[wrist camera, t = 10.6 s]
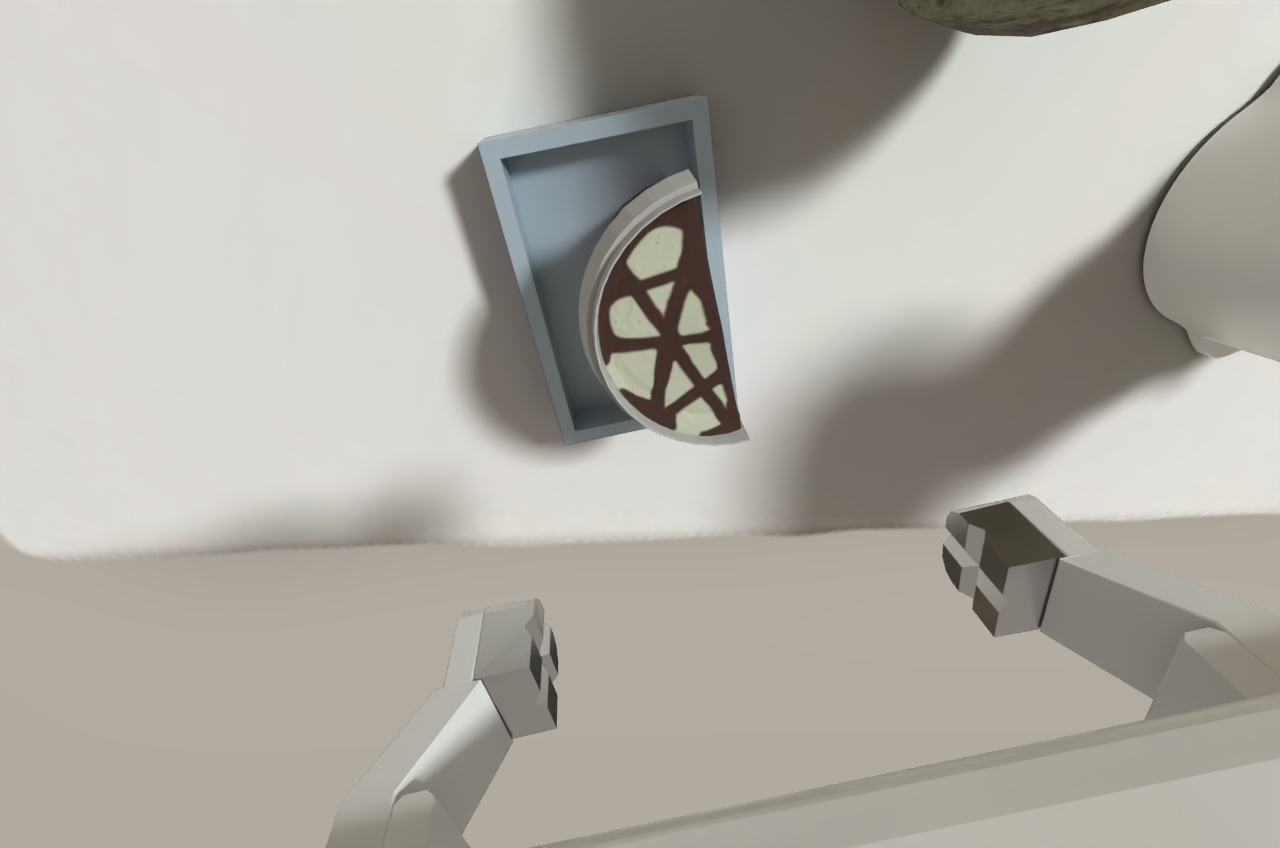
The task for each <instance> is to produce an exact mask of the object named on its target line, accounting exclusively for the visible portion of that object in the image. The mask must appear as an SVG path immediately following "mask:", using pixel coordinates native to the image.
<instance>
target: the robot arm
mask: <svg viewBox="0 0 1280 848" xmlns="http://www.w3.org/2000/svg"><path fill="white" fill-rule="evenodd" d="M1143 275H1144V283H1145V288H1146V291H1147V294H1148V297H1149V299H1150V301H1151V302H1152V304H1153V305H1154V307H1155V308H1156V309H1157V310H1158V311H1159V312H1160V313H1161V314H1162V315H1163V316H1165V317H1166V318H1168V319H1170V320H1172V321H1174V322H1175V323H1177V324H1179V325H1181V326H1182V327H1183V328H1185V329H1186V330H1187V333H1188V336H1189V339H1190V341H1191V343H1192V345H1193V347H1194V349H1195V350H1196V351H1197V352H1198V353H1200V354H1204V355H1207V356H1210V357H1214V358H1220V357H1224V356H1227V355H1230V354H1232V353H1235V352H1238V351H1241V350H1243V351H1246V352H1250V353H1253V354H1256V355H1259V356H1262V357H1265V358H1269V359H1272V360H1275V361H1278V362H1280V75H1279V76H1278V78H1277V79H1276V80H1275V81H1274V83H1273V84H1272V85H1271V87H1270V88H1269V89H1267V90H1266V91H1265V92H1264V93H1263V94H1262V95H1261V96H1260V97H1259V98H1257V99H1256V100H1255V101H1254V102H1253V103H1251V104H1250V105H1249V106H1248V107H1246V108H1245V109H1244V110H1242V111H1241V112H1240V113H1239V114H1237V115H1236V116H1235V117H1233V118H1232V119H1231V120H1230V121H1229V122H1227V123H1226V124H1225V125H1224V126H1223V127H1222V128H1221V129H1219V130H1218V131H1217V132H1216V133H1215V134H1214V135H1213V136H1212V137H1211V138H1210V139H1209V140H1208V141H1207V142H1206V143H1205V144H1204V145H1203V146H1202V147H1201V149H1200V150H1199V151H1198V152H1197V153H1196V154H1195V155H1194V156H1193V158H1192V159H1191V160H1190V161H1189V163H1188V164H1187V165H1186V166H1185V168H1184V169H1183V170H1182V172H1181V173H1180V175H1179V176H1178V177H1177V179H1176V180H1175V182H1174V183H1173V185H1172V187H1171V188H1170V190H1169V191H1168V193H1167V195H1166V197H1165V198H1164V200H1163V202H1162V204H1161V206H1160V208H1159V210H1158V212H1157V215H1156V217H1155V219H1154V222H1153V224H1152V227H1151V230H1150V233H1149V236H1148V240H1147V244H1146V248H1145V254H1144V262H1143ZM946 528H947V529H948V531H949V532H950V533H951V536H950V537H949V538H948V539H947V540H946V541H945V543H944V544H943V555H942V557H943V561H944V565H945V569H946V572H947V574H948V576H949V578H950V579H951V581H952V583H953V584H954V585H955V587H956V588H957V589H958V591H960V592H962V593H964V594H966V595H968V596H970V597H972V598H973V608H972V609H973V611H974V612H975V613H976V614H977V616H978V617H979V618H980V619H981V621H982V622H983V623H984V625H985V626H986V627H987V629H988V630H989V631H990V633H991V634H992V635H993V636H994V637H998V636H1003V635H1009V634H1015V633H1021V632H1026V631H1031V630H1037V629H1040V632H1042V633H1044V634H1045V635H1047V636H1049V637H1050V638H1052V639H1053V640H1055V641H1057V642H1058V643H1060V644H1062V645H1064V646H1065V647H1067V648H1068V649H1070V650H1072V651H1074V652H1075V653H1077V654H1079V655H1080V656H1082V657H1083V658H1085V659H1087V660H1088V661H1090V662H1092V663H1094V664H1095V665H1097V666H1098V667H1100V668H1102V669H1103V670H1105V671H1107V672H1108V673H1110V674H1112V675H1113V676H1115V677H1117V678H1119V679H1120V680H1122V681H1124V682H1125V683H1127V684H1129V685H1130V686H1132V687H1133V688H1135V689H1137V690H1138V691H1140V692H1142V693H1143V694H1145V695H1147V696H1148V697H1150V698H1152V699H1153V702H1152V704H1151V707H1150V709H1149V711H1148V713H1147V715H1146V717H1145V719H1144V720H1143V721H1138V722H1133V723H1128V724H1124V725H1118V726H1113V727H1109V728H1104V729H1099V730H1094V731H1089V732H1085V733H1080V734H1075V735H1070V736H1065V737H1060V738H1056V739H1051V740H1046V741H1041V742H1036V743H1032V744H1027V745H1022V746H1018V747H1012V748H1008V749H1003V750H998V751H993V752H988V753H983V754H979V755H974V756H969V757H964V758H959V759H954V760H950V761H945V762H940V763H936V764H931V765H926V766H921V767H916V768H911V769H906V770H902V771H897V772H892V773H887V774H882V775H877V776H872V777H868V778H863V779H858V780H853V781H849V782H844V783H839V784H834V785H829V786H825V787H820V788H815V789H810V790H805V791H801V792H796V793H791V794H786V795H781V796H777V797H772V798H767V799H762V800H757V801H753V802H748V803H743V804H738V805H734V806H729V807H724V808H720V809H714V810H710V811H705V812H700V813H695V814H690V815H685V816H680V817H676V818H671V819H666V820H661V821H657V822H651V823H647V824H642V825H638V826H632V827H628V828H623V829H618V830H613V831H608V832H603V833H599V834H594V835H589V836H584V837H579V838H575V839H569V840H565V841H560V842H555V843H550V844H545V845H540V846H536V847H531V848H1280V616H1279V615H1277V614H1276V613H1275V612H1272V611H1270V610H1267V609H1264V608H1262V607H1259V606H1256V605H1254V604H1251V603H1248V602H1245V601H1243V600H1240V599H1237V598H1234V597H1232V596H1229V595H1227V594H1224V593H1221V592H1219V591H1216V590H1213V589H1210V588H1208V587H1205V586H1202V585H1200V584H1197V583H1194V582H1192V581H1189V580H1186V579H1183V578H1181V577H1178V576H1175V575H1173V574H1170V573H1167V572H1164V571H1162V570H1159V569H1156V568H1154V567H1151V566H1148V565H1146V564H1143V563H1140V562H1138V561H1135V560H1132V559H1129V558H1127V557H1124V556H1121V555H1118V554H1116V553H1113V552H1111V551H1108V550H1105V549H1104V550H1098V551H1096V550H1095V549H1094V548H1093V547H1092V546H1091V545H1089V544H1088V543H1087V542H1086V541H1085V540H1084V539H1083V538H1081V537H1080V536H1079V535H1078V534H1077V533H1076V532H1075V531H1073V530H1072V529H1071V528H1070V527H1069V526H1068V525H1067V524H1066V523H1065V522H1063V521H1062V520H1061V519H1060V518H1059V517H1058V516H1057V515H1055V514H1054V513H1053V512H1052V511H1051V510H1050V509H1049V508H1048V507H1046V506H1045V505H1044V504H1043V503H1042V502H1041V501H1040V500H1038V499H1037V498H1036V497H1034V496H1031V495H1029V494H1028V495H1023V496H1019V497H1014V498H1010V499H1005V500H1002V501H996V502H991V503H986V504H982V505H977V506H973V507H968V508H964V509H959V510H955V511H951V512H950V513H949V515H948V516H947V520H946ZM557 675H558V657H557V648H556V643H555V639H554V635H553V632H552V629H551V627H550V626H549V625H547V624H546V623H544V609H543V607H542V604H541V602H540V600H539V599H532V600H526V601H521V602H515V603H510V604H505V605H499V606H494V607H488V608H485V609H480V610H475V611H469V612H464V613H462V614H461V616H460V617H459V619H458V621H457V626H456V630H455V635H454V640H453V644H452V649H451V654H450V658H449V663H448V668H447V673H446V677H445V682H444V687H442V688H438V689H435V691H434V692H433V693H432V694H431V695H430V697H429V698H428V699H427V700H426V702H425V703H424V704H423V705H422V706H421V707H420V709H419V710H418V711H417V712H416V714H415V715H414V716H413V717H412V718H411V720H410V721H409V722H408V723H407V724H406V726H405V727H404V728H403V729H402V731H401V732H400V733H399V734H398V735H397V736H396V738H395V739H394V740H393V741H392V743H391V744H390V745H389V746H388V748H387V749H386V750H385V751H384V752H383V754H382V755H381V756H380V757H379V758H378V760H377V761H376V762H375V763H374V764H373V766H372V767H371V768H370V769H369V770H368V772H367V773H366V774H365V775H364V776H363V778H362V779H361V780H360V781H359V782H358V784H357V785H356V786H355V787H354V789H353V790H352V791H351V792H350V793H349V795H348V796H347V797H346V798H345V799H344V801H343V802H342V803H341V804H340V806H339V808H338V811H337V814H336V818H335V821H334V824H333V827H332V830H331V833H330V836H329V839H328V842H327V845H326V848H470V846H469V845H468V843H467V842H466V841H465V839H464V838H463V836H462V833H463V832H464V830H465V828H466V826H467V824H468V823H469V821H470V819H471V817H472V815H473V813H474V812H475V809H476V808H477V806H478V804H479V802H480V801H481V799H482V797H483V795H484V793H485V792H486V790H487V788H488V786H489V784H490V782H491V781H492V779H493V777H494V775H495V773H496V772H497V770H498V768H499V766H500V764H501V763H502V761H503V759H504V757H505V755H506V753H507V752H508V750H509V748H510V746H511V744H512V743H513V740H512V739H514V738H518V737H522V736H526V735H531V734H535V733H539V732H543V731H547V730H552V729H556V728H557V693H556V691H555V688H554V686H553V684H552V682H553V681H554V679H555V678H556V677H557Z"/></svg>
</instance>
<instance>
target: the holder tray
mask: <svg viewBox="0 0 1280 848" xmlns="http://www.w3.org/2000/svg"><path fill="white" fill-rule="evenodd" d="M477 144H478V147H479V151H480V154H481V158H482V161H483V165H484V168H485V171H486V175H487V178H488V182H489V185H490V189H491V192H492V196H493V199H494V203H495V206H496V209H497V213H498V216H499V220H500V223H501V227H502V230H503V234H504V237H505V241H506V244H507V247H508V251H509V254H510V258H511V261H512V265H513V268H514V272H515V275H516V279H517V282H518V285H519V289H520V292H521V296H522V299H523V303H524V306H525V310H526V313H527V317H528V320H529V323H530V327H531V330H532V334H533V337H534V341H535V344H536V348H537V351H538V355H539V358H540V361H541V365H542V368H543V372H544V375H545V379H546V382H547V386H548V389H549V393H550V396H551V399H552V403H553V406H554V410H555V413H556V417H557V420H558V424H559V427H560V431H561V434H562V437H563V441H564V444H565V445H570V444H574V443H579V442H584V441H589V440H594V439H598V438H603V437H608V436H613V435H618V434H622V433H627V432H632V431H637V430H642V429H646V428H647V427H645V426H643V425H641V424H639V423H638V422H637V421H635V420H634V419H633V418H631V417H630V416H629V415H627V414H626V413H625V412H624V411H623V410H622V409H621V408H620V407H619V406H618V405H617V404H616V403H615V402H614V401H613V399H612V398H611V397H610V396H609V394H608V393H607V391H606V390H605V388H604V387H603V385H602V384H601V382H600V381H599V379H598V378H597V376H596V375H595V373H594V372H593V370H592V368H591V365H590V363H589V361H588V359H587V356H586V354H585V351H584V347H583V343H582V339H581V335H580V326H579V314H578V311H579V299H580V290H581V286H582V282H583V278H584V274H585V270H586V267H587V265H588V262H589V260H590V258H591V255H592V253H593V251H594V248H595V246H596V245H597V243H598V241H599V240H600V238H601V237H602V235H603V234H604V232H605V230H606V229H607V227H608V226H609V225H610V223H611V222H612V220H613V219H614V217H615V216H616V214H617V213H618V211H619V210H620V208H621V207H622V206H623V205H624V204H625V203H627V202H628V201H629V200H631V199H632V198H633V197H634V196H636V195H637V194H638V193H639V192H641V191H642V190H643V189H645V188H646V187H649V186H651V185H654V184H656V183H659V182H660V181H662V180H664V179H665V178H667V177H670V176H672V175H675V174H677V173H680V172H682V171H685V170H687V169H689V170H690V172H691V173H692V175H693V176H694V178H695V179H696V181H697V184H698V188H699V189H700V190H701V191H702V194H701V195H698V196H696V197H695V199H696V204H697V208H698V213H699V218H700V223H701V227H702V232H703V237H704V242H705V247H706V252H707V257H708V262H709V267H710V272H711V277H712V282H713V287H714V292H715V297H716V302H717V306H718V311H719V315H720V320H721V324H722V329H723V335H724V341H725V346H726V352H727V358H728V363H729V368H730V373H731V379H732V384H733V389H734V394H735V400H736V404H737V394H736V384H735V374H734V363H733V353H732V343H731V333H730V322H729V312H728V302H727V291H726V281H725V271H724V260H723V250H722V240H721V230H720V219H719V209H718V199H717V188H716V178H715V168H714V158H713V147H712V137H711V127H710V116H709V106H708V97H707V96H697V95H693V96H688V97H683V98H678V99H673V100H668V101H663V102H658V103H653V104H649V105H644V106H639V107H634V108H629V109H624V110H619V111H614V112H609V113H604V114H599V115H594V116H590V117H585V118H580V119H575V120H570V121H565V122H560V123H555V124H550V125H545V126H540V127H535V128H531V129H526V130H521V131H516V132H511V133H506V134H501V135H496V136H491V137H486V138H484V139H483V140H481V141H480V142H479V143H477ZM737 409H738V405H737Z"/></svg>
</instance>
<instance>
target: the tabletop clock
mask: <svg viewBox="0 0 1280 848" xmlns="http://www.w3.org/2000/svg"><path fill="white" fill-rule="evenodd" d="M1166 1H1169V0H898V2H899V5H900V6H902V7H903V8H904V9H906V10H907V11H909V12H910V13H911V14H913V15H916V16H919V17H922V18H924V19H927V20H930V21H933V22H935V23H938V24H941V25H944V26H946V27H949V28H952V29H955V30H959V31H962V32H965V33H970V34H974V35H992V36H1025V37H1033V36H1037V35H1042V34H1046V33H1051V32H1055V31H1060V30H1064V29H1069V28H1073V27H1078V26H1082V25H1087V24H1091V23H1096V22H1100V21H1105V20H1108V19H1112V18H1115V17H1118V16H1121V15H1124V14H1128V13H1131V12H1134V11H1137V10H1140V9H1144V8H1147V7H1150V6H1153V5H1156V4H1160V3H1163V2H1166Z"/></svg>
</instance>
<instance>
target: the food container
mask: <svg viewBox="0 0 1280 848" xmlns="http://www.w3.org/2000/svg"><path fill="white" fill-rule="evenodd" d="M701 194H702V191H701V190H700V189H699V188H698V184H697V181H696V179H695V178H694V176H693V175H692V173H691V172H690V170H689V169H687V170H685V171H682V172H680V173H677V174H675V175H672V176H670V177H667V178H665V179H664V180H662V181H660V182H659V183H656V184H654V185H651V186H649V187H646V188H645V189H643V190H642V191H641V192H639V193H638V194H637V195H636V196H634V197H633V198H632V199H631V200H629V201H628V202H627V203H625V204H624V205H623V206H622V207H621V208H620V210H619V211H618V213H617V214H616V216H615V217H614V219H613V220H612V222H611V223H610V225H609V226H608V227H607V229H606V230H605V232H604V234H603V235H602V237H601V238H600V240H599V241H598V243H597V245H596V246H595V248H594V251H593V253H592V255H591V258H590V260H589V262H588V265H587V267H586V270H585V274H584V278H583V282H582V286H581V290H580V299H579V311H578V314H579V326H580V335H581V339H582V343H583V347H584V351H585V354H586V356H587V359H588V361H589V363H590V365H591V368H592V370H593V372H594V373H595V375H596V376H597V378H598V379H599V381H600V382H601V384H602V385H603V387H604V388H605V390H606V391H607V393H608V394H609V396H610V397H611V398H612V399H613V401H614V402H615V403H616V404H617V405H618V406H619V407H620V408H621V409H622V410H623V411H624V412H625V413H626V414H627V415H629V416H630V417H631V418H633V419H634V420H635V421H637V422H638V423H639V424H641V425H643V426H645V427H647V428H649V429H650V430H652V431H654V432H656V433H658V434H660V435H662V436H665V437H668V438H671V439H674V440H676V441H680V442H685V443H690V444H695V445H713V446H715V445H727V444H735V443H740V442H745V441H750V439H749V437H748V434H747V432H746V430H745V428H744V426H743V424H742V422H741V420H740V414H739V411H738V409H737V404H736V400H735V394H734V389H733V384H732V379H731V373H730V368H729V363H728V358H727V352H726V346H725V341H724V335H723V329H722V324H721V320H720V315H719V311H718V306H717V302H716V297H715V292H714V287H713V282H712V277H711V272H710V267H709V262H708V257H707V252H706V247H705V242H704V237H703V232H702V227H701V223H700V218H699V213H698V208H697V204H696V199H695V197H696V196H698V195H701Z"/></svg>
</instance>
